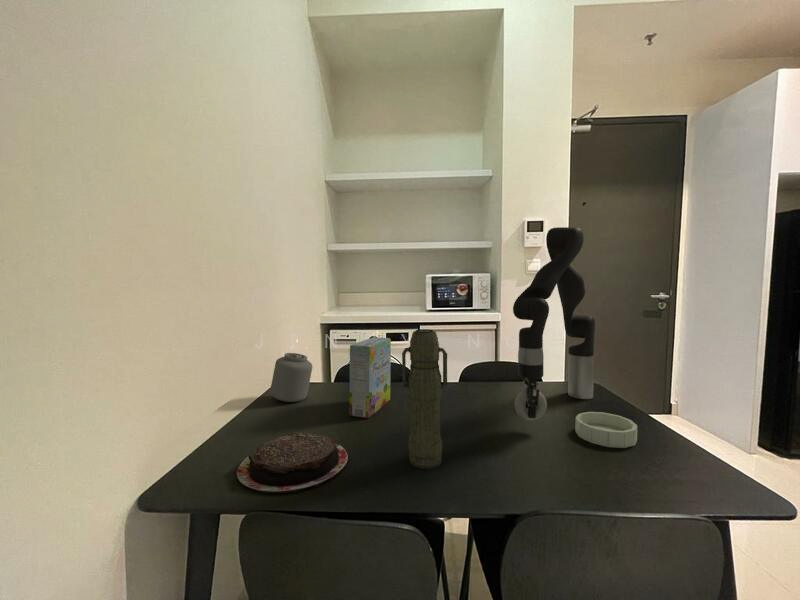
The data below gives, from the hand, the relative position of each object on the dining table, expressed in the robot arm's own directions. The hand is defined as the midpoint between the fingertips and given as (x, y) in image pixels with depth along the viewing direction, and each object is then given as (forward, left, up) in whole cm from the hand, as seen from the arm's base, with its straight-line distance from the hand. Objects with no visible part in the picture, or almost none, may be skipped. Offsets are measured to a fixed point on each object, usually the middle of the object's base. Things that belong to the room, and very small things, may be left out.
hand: (530, 414), depth 116 cm
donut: (0, 0, -2) cm, 2 cm away
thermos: (+23, -31, -6) cm, 39 cm away
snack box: (-15, -55, -6) cm, 57 cm away
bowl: (0, +22, -5) cm, 23 cm away
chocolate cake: (+30, -65, -6) cm, 72 cm away
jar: (-21, -89, -6) cm, 92 cm away
